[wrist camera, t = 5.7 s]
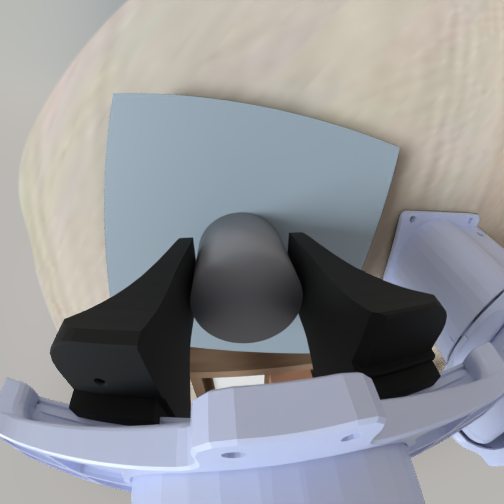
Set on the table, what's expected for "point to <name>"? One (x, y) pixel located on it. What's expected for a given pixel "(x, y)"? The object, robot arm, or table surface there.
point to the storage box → (241, 365)
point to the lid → (237, 206)
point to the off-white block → (238, 381)
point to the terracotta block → (290, 376)
